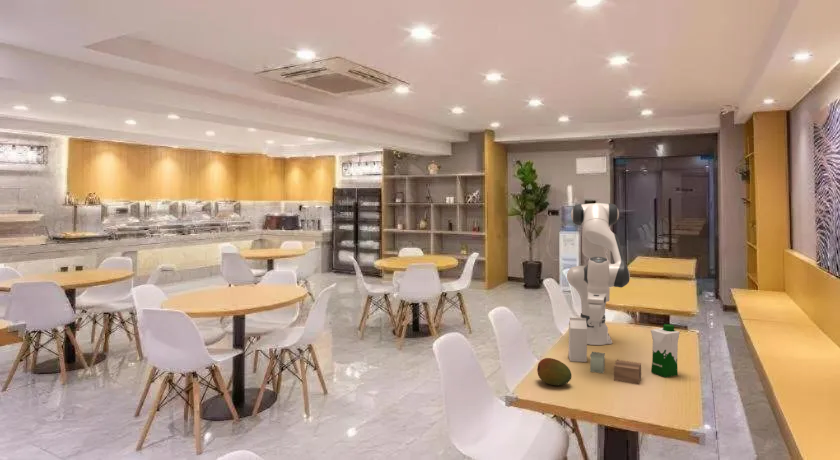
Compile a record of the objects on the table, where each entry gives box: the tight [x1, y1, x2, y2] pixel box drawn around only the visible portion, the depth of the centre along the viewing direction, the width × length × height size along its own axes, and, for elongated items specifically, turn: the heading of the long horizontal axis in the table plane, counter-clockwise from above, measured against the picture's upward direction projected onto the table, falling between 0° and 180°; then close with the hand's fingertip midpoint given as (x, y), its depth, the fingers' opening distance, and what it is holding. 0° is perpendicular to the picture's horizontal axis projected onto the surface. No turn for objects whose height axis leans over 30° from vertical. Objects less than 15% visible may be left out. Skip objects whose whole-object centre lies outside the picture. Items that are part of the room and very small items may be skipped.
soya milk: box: [650, 323, 681, 378], centre depth 199 cm, size 9×9×20 cm
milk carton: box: [568, 317, 588, 363], centre depth 219 cm, size 7×7×19 cm
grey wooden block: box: [589, 351, 606, 374], centre depth 204 cm, size 5×5×7 cm
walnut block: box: [613, 359, 642, 385], centre depth 194 cm, size 9×9×6 cm
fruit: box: [536, 357, 572, 386], centre depth 188 cm, size 12×12×10 cm
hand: (597, 329), depth 203 cm, fingers open, 8 cm apart
